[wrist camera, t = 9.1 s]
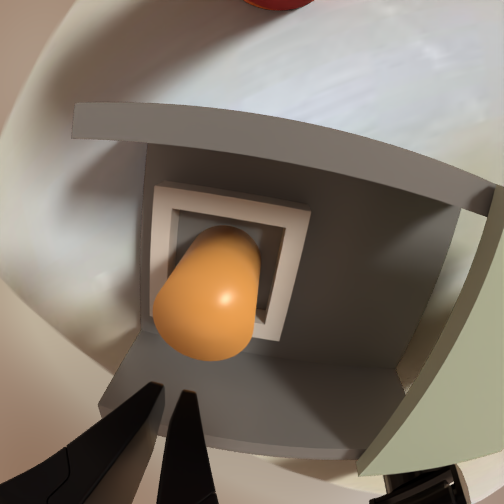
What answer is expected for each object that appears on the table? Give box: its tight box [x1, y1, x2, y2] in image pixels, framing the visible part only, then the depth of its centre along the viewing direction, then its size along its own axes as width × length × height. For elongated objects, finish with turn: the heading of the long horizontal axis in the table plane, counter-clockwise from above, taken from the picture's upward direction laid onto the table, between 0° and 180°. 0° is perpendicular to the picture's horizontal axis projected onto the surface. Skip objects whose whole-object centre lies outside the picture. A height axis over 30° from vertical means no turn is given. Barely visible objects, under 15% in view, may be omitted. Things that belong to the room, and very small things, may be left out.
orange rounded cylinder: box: [153, 225, 261, 361], centre depth 14 cm, size 4×4×6 cm
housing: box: [71, 102, 496, 460], centre depth 14 cm, size 15×18×8 cm
